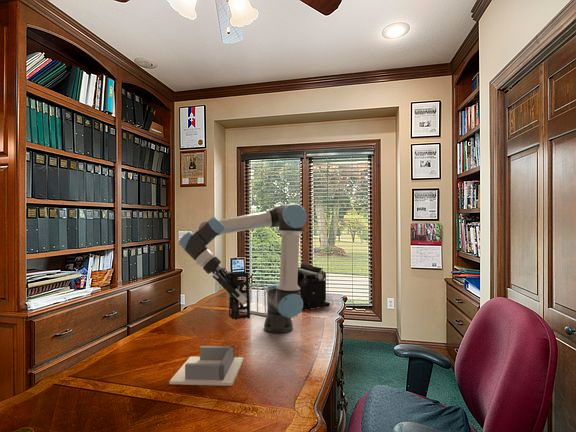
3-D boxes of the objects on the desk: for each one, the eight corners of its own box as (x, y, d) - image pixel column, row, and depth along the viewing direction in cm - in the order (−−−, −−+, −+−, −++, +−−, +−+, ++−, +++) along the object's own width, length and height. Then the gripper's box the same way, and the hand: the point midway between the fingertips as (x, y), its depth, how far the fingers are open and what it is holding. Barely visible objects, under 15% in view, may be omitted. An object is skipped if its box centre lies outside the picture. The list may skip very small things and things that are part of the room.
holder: (254, 316, 139) (252, 271, 139) (246, 321, 132) (245, 274, 132) (232, 314, 143) (230, 270, 143) (223, 320, 136) (221, 273, 136)
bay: (243, 359, 128) (243, 345, 128) (232, 385, 108) (232, 368, 108) (190, 358, 129) (190, 344, 129) (169, 384, 109) (169, 366, 109)
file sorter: (281, 309, 201) (281, 285, 201) (265, 317, 186) (265, 290, 186) (250, 304, 214) (250, 281, 214) (233, 310, 199) (233, 286, 199)
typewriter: (272, 301, 223) (272, 265, 223) (305, 296, 236) (304, 262, 236) (294, 312, 196) (294, 271, 196) (329, 306, 209) (329, 268, 209)
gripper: (209, 264, 147) (244, 300, 146) (195, 271, 128) (235, 312, 127) (220, 253, 147) (255, 289, 146) (208, 258, 128) (248, 299, 127)
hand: (246, 299), depth 136 cm, fingers closed on holder, 5 cm apart
